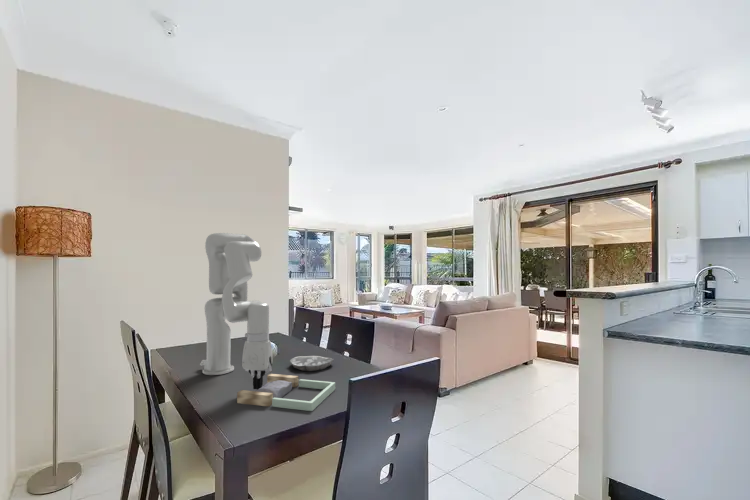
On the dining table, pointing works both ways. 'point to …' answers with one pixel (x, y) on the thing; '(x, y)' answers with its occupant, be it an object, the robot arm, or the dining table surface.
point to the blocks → (264, 397)
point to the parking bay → (306, 405)
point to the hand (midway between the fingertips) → (257, 388)
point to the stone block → (277, 388)
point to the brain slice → (311, 362)
